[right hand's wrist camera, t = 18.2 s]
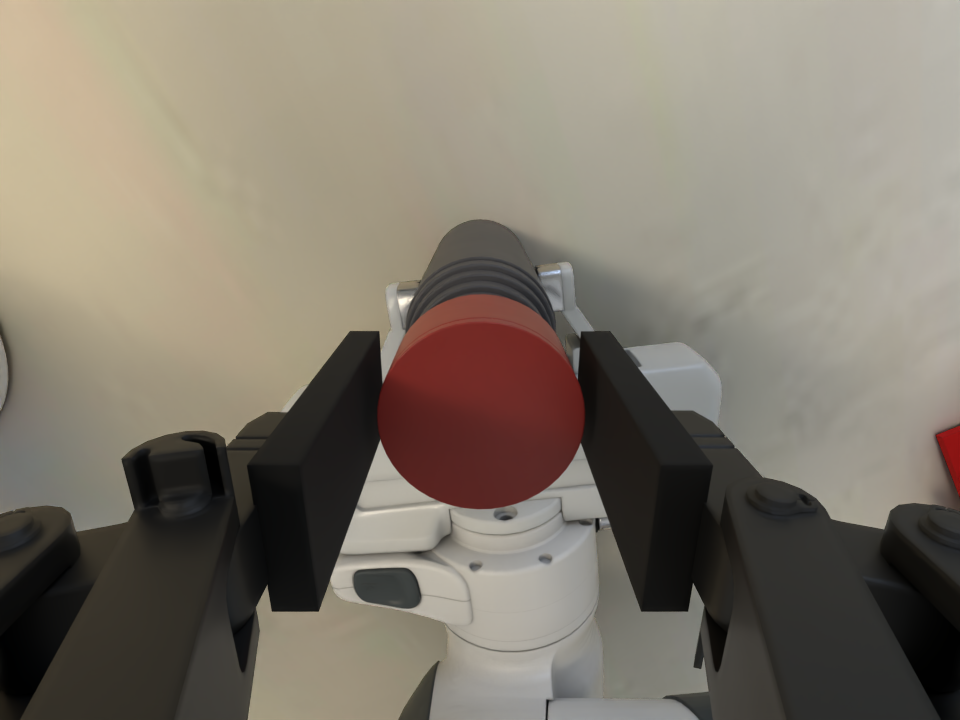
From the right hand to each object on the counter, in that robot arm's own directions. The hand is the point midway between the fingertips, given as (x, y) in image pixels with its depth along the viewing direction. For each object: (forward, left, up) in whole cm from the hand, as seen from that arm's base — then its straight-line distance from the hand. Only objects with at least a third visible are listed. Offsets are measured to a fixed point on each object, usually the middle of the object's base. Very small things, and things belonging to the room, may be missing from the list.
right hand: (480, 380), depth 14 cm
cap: (0, 0, +2) cm, 2 cm away
